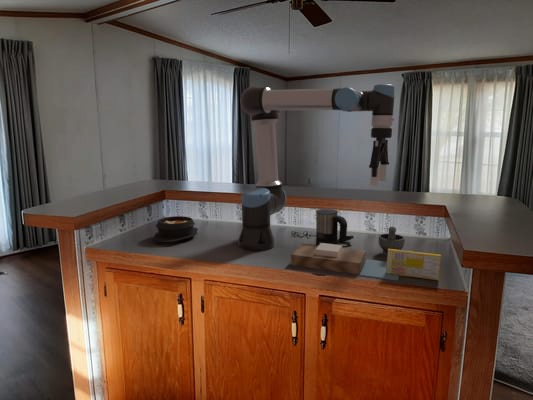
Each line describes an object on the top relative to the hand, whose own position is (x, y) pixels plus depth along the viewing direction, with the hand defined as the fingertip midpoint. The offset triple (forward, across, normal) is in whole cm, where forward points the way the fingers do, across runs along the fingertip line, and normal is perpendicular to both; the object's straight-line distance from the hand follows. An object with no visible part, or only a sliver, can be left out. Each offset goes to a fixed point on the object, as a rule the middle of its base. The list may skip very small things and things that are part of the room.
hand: (378, 183), depth 147 cm
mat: (+27, -21, -7) cm, 35 cm away
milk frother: (+27, 0, +17) cm, 32 cm away
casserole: (+28, -24, +82) cm, 90 cm away
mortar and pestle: (+27, -3, -7) cm, 28 cm away
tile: (+23, -23, +11) cm, 34 cm away
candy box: (+27, -22, -17) cm, 39 cm away
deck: (+27, -23, +11) cm, 37 cm away
